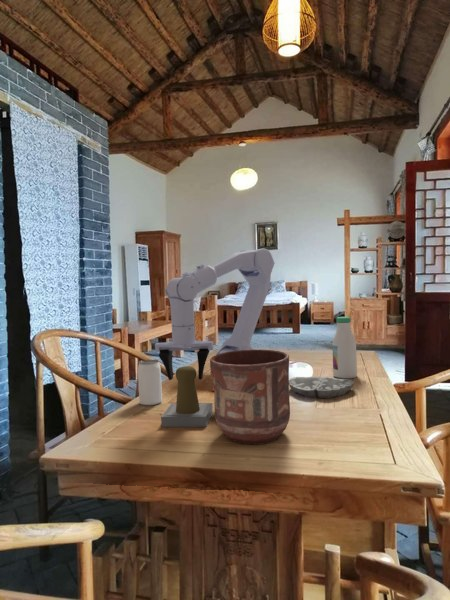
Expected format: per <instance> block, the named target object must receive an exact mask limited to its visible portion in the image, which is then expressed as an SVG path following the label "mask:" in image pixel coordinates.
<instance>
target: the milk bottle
mask: <svg viewBox="0 0 450 600" xmlns="http://www.w3.org/2000/svg"><path fill="white" fill-rule="evenodd" d="M351 320H352V319H351V317H350V316H337V317H336V321H335V322H336V326H337V327H336V331H335V333H334V335H333V338H332V372H333V373H332V374H333V378H336V379H348V380H349V379H354V378H357V375H358V365H357V364H358V362H357V361H358V360H357V359H358V358H357V355H358V354H357V341H356V338H355V335H354V333H353V331H352V327H351Z"/></svg>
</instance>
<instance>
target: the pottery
mask: <svg viewBox="0 0 450 600" xmlns="http://www.w3.org/2000/svg"><path fill="white" fill-rule="evenodd" d="M209 364H210V365H209V366H210V368H211V369H210V370H211V377H212V382H213V383H212V384H213V393H214V404H213V405H214V419H215V421H216V422H215V423H216V424H217V426H218V428H219V429H220V431H221V432H222V433H223V434H224V436H226V437H227V438H228V439H229V440H230V441H232V442H235V443H238V444H243V445H263V444H267V443H268V444H269V443H271V442H274V441H276V440H278V438H279V437H281V435H282V434H283V433H284V432H285V430H286V429H287V428H288V427H287V426H288V424H289V421H290V418H291V404H290V403H291V402H290V385H289V380H290V379H289V378H290V372H289V371H290V354H288V353H286V352H283V351H280V350H273V349H253V350H238V351H230V352H225V353H221V354H218V355H216V354H215V355H214V356H213V355H212V357H211V358H210V359H209Z"/></svg>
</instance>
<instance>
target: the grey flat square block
mask: <svg viewBox="0 0 450 600" xmlns="http://www.w3.org/2000/svg"><path fill="white" fill-rule="evenodd" d="M176 403H177V402H176ZM176 403H171V404H170V405H169V406H168V407H167V409H166V410H165V412H163V414H162V415H161V416H160V418H161V419H160V421H161V428H194V427H195V428H202V427H203V428H206V427H208V424H209V421H210V419H211V417H212V416H213V414H214V409H213V405H214V404H213V402H208V403H207V402H199V407H200V410H199V411H198V412H196V413H192V414H180V413H177V412H176Z"/></svg>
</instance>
